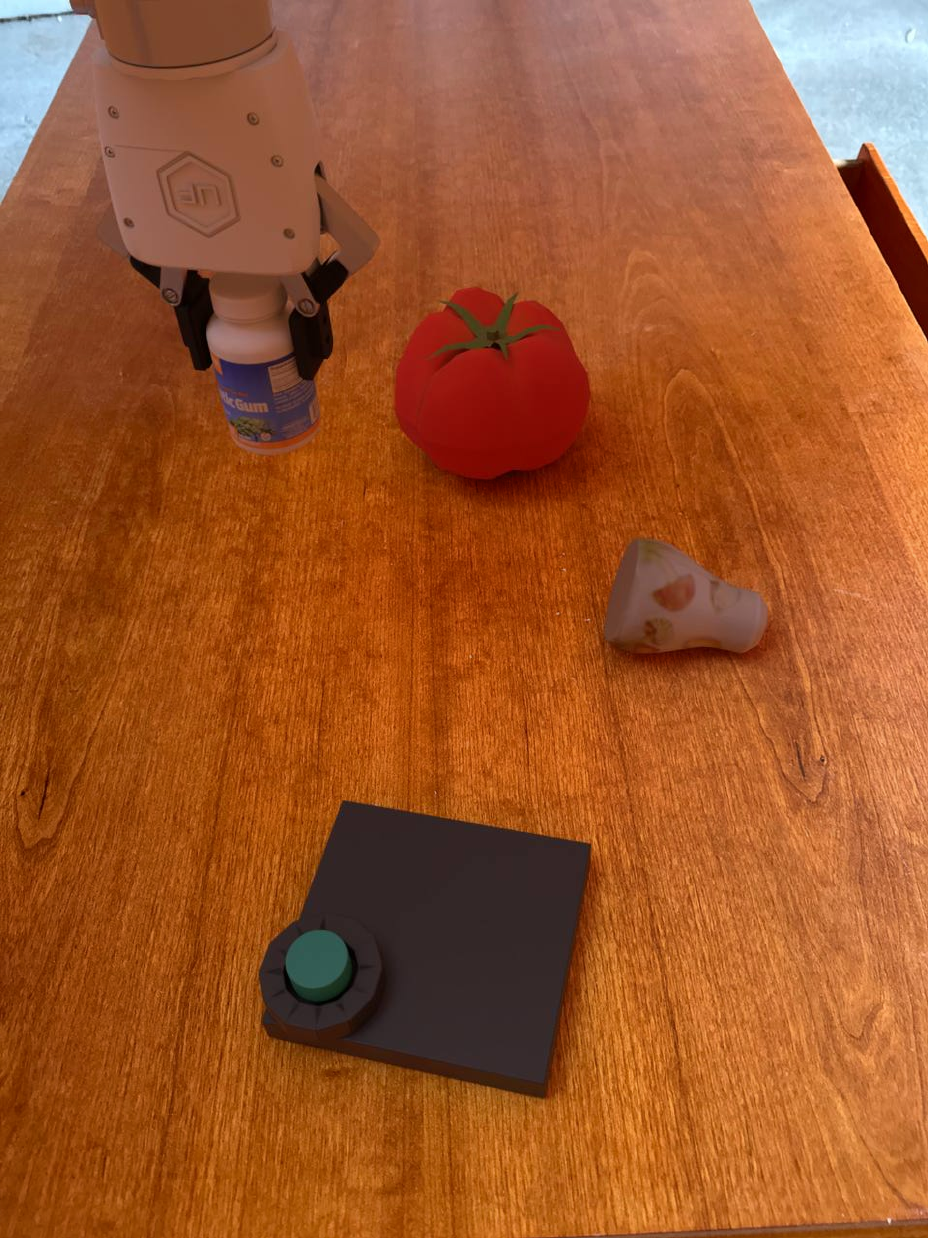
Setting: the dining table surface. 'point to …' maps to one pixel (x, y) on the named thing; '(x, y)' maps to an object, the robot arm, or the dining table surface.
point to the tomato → (491, 386)
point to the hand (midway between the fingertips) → (262, 358)
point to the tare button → (318, 965)
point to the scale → (438, 946)
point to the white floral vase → (678, 604)
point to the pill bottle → (259, 365)
